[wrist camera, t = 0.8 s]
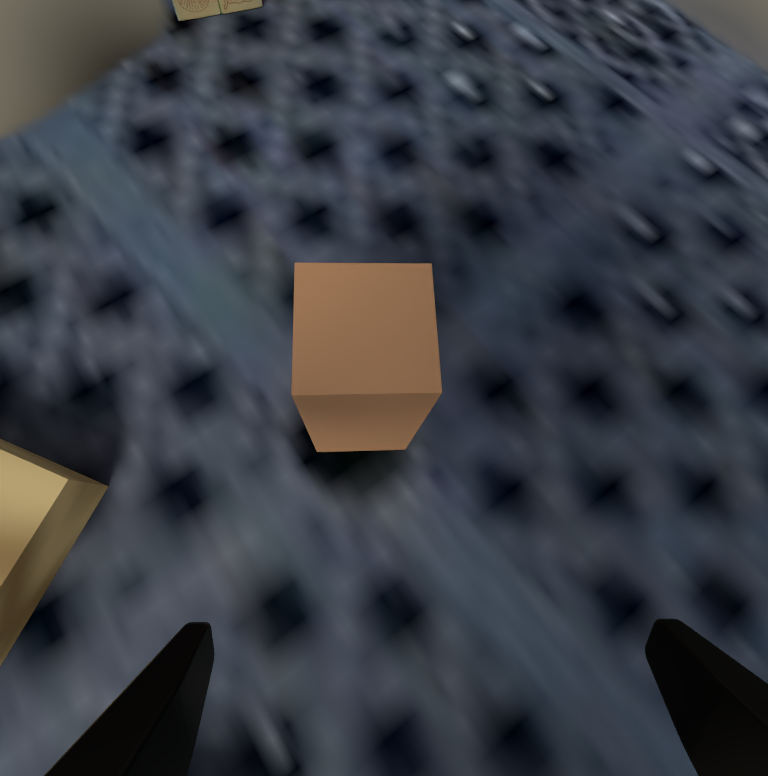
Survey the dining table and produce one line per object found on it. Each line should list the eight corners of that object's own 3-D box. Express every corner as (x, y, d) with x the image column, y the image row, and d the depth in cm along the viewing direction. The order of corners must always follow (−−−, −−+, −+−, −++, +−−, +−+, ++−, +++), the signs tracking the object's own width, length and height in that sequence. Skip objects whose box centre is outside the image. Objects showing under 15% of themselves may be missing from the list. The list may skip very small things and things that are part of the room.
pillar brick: (405, 449, 23) (442, 392, 13) (317, 451, 23) (291, 395, 13) (400, 367, 24) (431, 263, 15) (317, 368, 24) (294, 262, 15)
